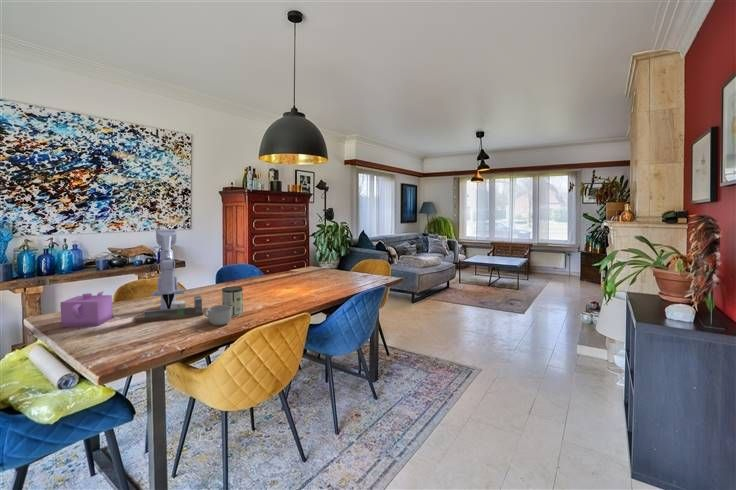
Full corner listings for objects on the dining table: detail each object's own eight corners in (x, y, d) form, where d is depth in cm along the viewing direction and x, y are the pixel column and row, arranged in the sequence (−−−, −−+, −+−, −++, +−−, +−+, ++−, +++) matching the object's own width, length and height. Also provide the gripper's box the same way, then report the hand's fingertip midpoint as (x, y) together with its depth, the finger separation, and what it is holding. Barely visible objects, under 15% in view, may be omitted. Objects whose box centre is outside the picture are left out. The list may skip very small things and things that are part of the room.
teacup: (236, 322, 178) (236, 306, 177) (220, 328, 168) (220, 311, 167) (214, 318, 183) (213, 303, 182) (197, 324, 172) (197, 308, 172)
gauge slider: (172, 310, 188) (171, 301, 188) (184, 309, 191) (184, 300, 191) (172, 315, 181) (172, 305, 180) (185, 313, 184) (185, 304, 183)
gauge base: (137, 316, 184) (136, 300, 183) (201, 309, 198) (201, 294, 197) (135, 322, 173) (134, 305, 172) (203, 315, 188) (202, 299, 187)
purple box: (119, 313, 187) (118, 287, 186) (92, 329, 163) (91, 299, 161) (87, 314, 185) (86, 288, 183) (54, 330, 160) (52, 300, 159)
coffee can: (228, 311, 196) (227, 285, 195) (246, 312, 195) (245, 286, 194) (218, 316, 186) (218, 289, 185) (237, 317, 185) (237, 290, 184)
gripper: (151, 285, 177) (152, 312, 178) (184, 283, 184) (184, 308, 185) (151, 282, 183) (152, 308, 184) (183, 280, 190) (184, 305, 191)
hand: (168, 308), depth 185 cm, fingers closed
